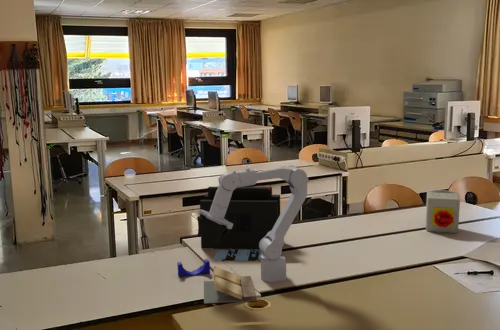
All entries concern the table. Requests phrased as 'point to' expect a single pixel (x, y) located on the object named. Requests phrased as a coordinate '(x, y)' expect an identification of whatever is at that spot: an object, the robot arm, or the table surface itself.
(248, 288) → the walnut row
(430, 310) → the table surface
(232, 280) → the oak plank far
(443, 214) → the electrical switch box
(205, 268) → the blue cradle bracket
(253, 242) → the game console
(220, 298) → the underlay mat
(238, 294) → the oak plank near
